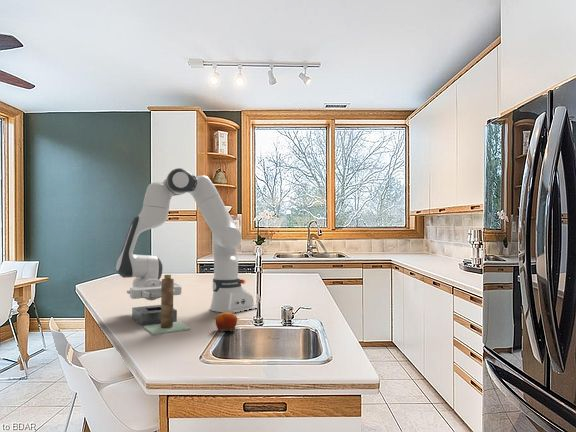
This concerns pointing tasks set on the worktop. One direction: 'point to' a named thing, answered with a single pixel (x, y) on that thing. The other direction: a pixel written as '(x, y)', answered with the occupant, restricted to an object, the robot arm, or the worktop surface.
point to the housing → (149, 315)
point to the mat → (158, 330)
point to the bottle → (167, 302)
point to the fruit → (226, 321)
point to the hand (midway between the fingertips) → (161, 294)
